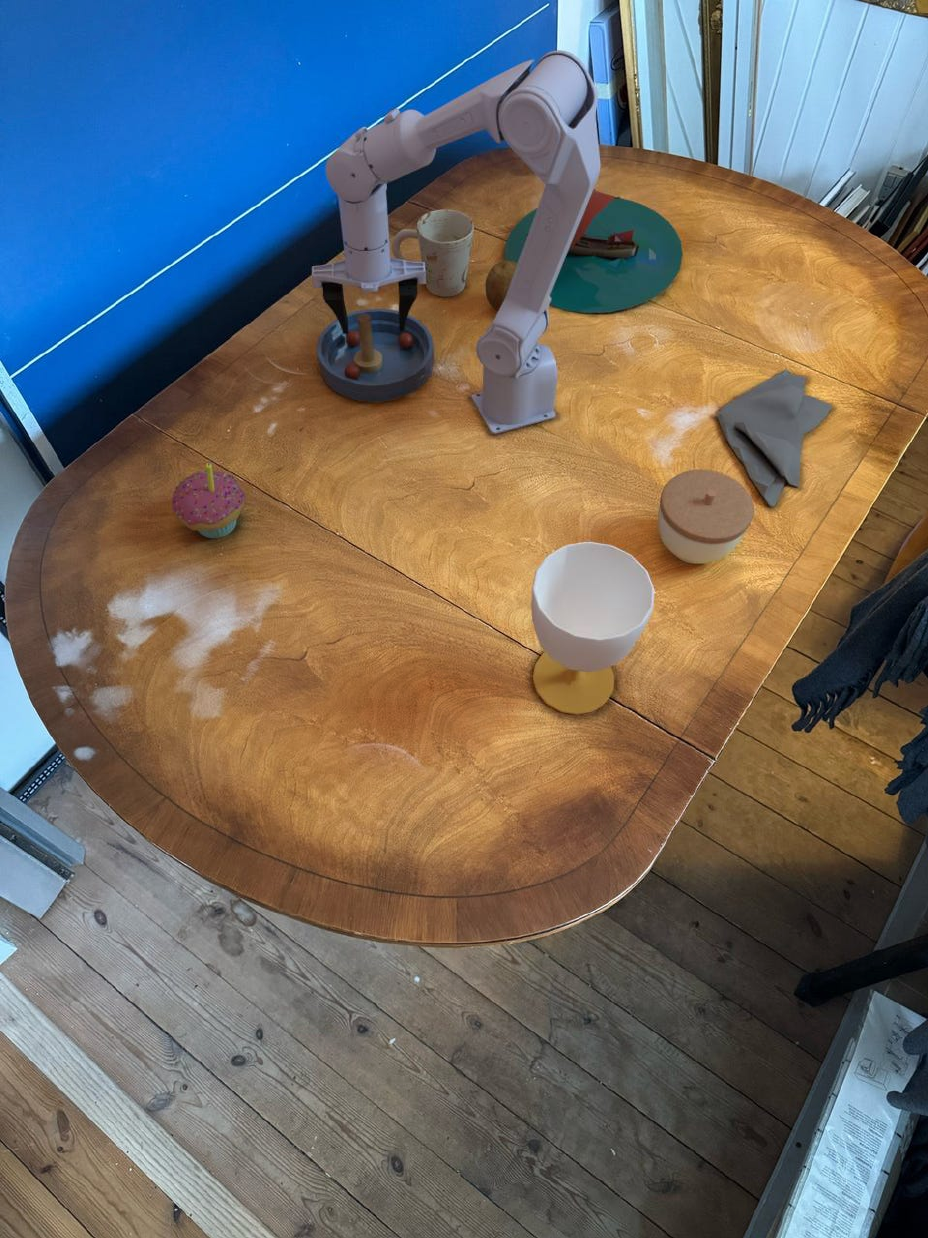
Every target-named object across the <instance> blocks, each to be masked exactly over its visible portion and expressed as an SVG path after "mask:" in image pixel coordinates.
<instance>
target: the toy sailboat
mask: <svg viewBox="0 0 928 1238" xmlns="http://www.w3.org/2000/svg"><path fill="white" fill-rule="evenodd" d="M537 208H538V207H537ZM537 208H535V209H533V210H531V211H530V212H529V213H527V214H525V215H524V216H523V217H522V218H521V219H520V220H519V221H518V222H517V223H516V224H515V226H514V227H513V228H512V229H511V230H510V232H509V233H508V237H507V240H506V242H505V246H504V261H513V262H515V263H517V264H518V261H519V259H520V256H521V253H522V250H523V247H524V245H525V242H526V239H527V236H528V233H529V231H530V228H531V225H532V222H533V219H534V217H535V214H536V211H537ZM682 260H683V247H682V239H681V238H680V237H679V235H678V233H677V231H676V229H675V227H674V226H673V225H672V224H671V223H670V222H669V221H668V220H667V219H666V218H665V217H664V216H663V215H662V214H660V213H659V212H657V211H656V210H654V209H652V208H650V207H649V206H646V205H644V204H641V203H640V202H639V203H638V202H636V201H632V200H629V199H626V198H622V197H620V196H613V195H611V194H607V193H604V192H601V191H597V190H596V189H595V188H594V189H593V192H592V194H591V196H590V199H589V201H588V204H587V206H586V209H585V211H584V213H583V216H582V218H581V221H580V223H579V226H578V228H577V230H576V233H575V235H574V238H573V240H572V242H571V245H570V247H569V250H568V252H567V255H566V257H565V259H564V262H563V264H562V267H561V269H560V272H559V274H558V276H557V279H556V281H555V284H554V286H553V289H552V291H551V293H550V297H551V302H550V304H549V306H551V307H554V308H558V309H560V310H563V311H568V312H576V313H584V314H596V313H600V314H601V313H603V314H604V313H612V312H617V311H622V310H627V309H630V308H633V307H636V306H639V305H641V304H643V303H645V302H647V301H649V300H652V299H653V298H655V297H657V296H658V295H660V294H661V293H663V292H664V291H665V290H667V288H669V287H670V285H671V284H673V282H674V280H675V278H676V277H677V275H678V273H679V272H680V270H681V266H682Z"/></svg>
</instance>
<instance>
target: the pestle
mask: <svg viewBox="0 0 928 1238" xmlns="http://www.w3.org/2000/svg"><path fill="white" fill-rule="evenodd" d="M357 319H358V328H359V338H360V348H361V350H360V351H358V352H357V353H356V354H355V356H354V364H355V365H357V366H358V367H359V369H360V372H361V373H365V374H371V373H375V372H377V371H379V370H380V369H381V368H382V365H383V362H382V355H381V353H380V352H379V351H377V350H375V349H374V348H373V337H372V326H371V316H370V315H369V314H367V313H362V314H360V315H358V317H357Z"/></svg>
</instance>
